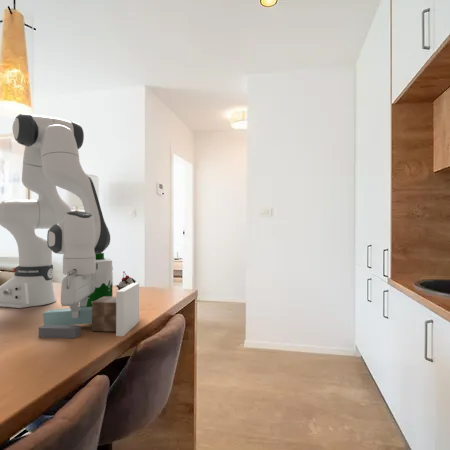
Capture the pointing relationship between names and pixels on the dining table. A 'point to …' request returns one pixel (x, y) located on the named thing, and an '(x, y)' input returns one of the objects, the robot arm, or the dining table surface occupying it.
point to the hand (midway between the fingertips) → (79, 314)
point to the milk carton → (102, 279)
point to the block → (104, 314)
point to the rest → (60, 331)
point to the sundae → (125, 282)
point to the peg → (67, 316)
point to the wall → (127, 308)
